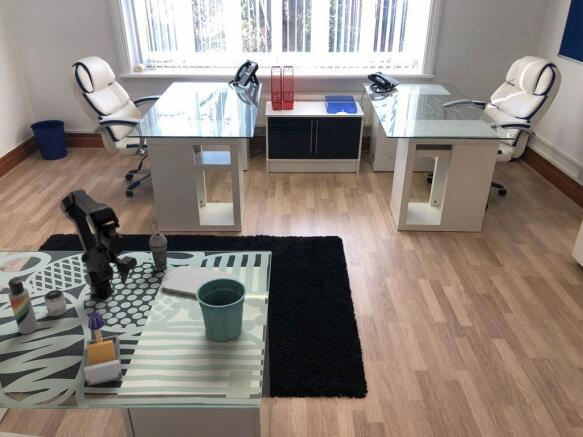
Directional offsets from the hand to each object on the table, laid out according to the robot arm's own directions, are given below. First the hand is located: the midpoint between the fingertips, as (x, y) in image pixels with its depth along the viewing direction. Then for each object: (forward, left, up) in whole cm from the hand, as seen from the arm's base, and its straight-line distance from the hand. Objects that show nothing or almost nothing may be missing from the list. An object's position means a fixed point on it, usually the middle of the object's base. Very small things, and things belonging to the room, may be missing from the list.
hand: (113, 280), depth 166 cm
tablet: (+19, +25, -14) cm, 34 cm away
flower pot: (+40, +4, -13) cm, 42 cm away
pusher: (+13, -24, -13) cm, 30 cm away
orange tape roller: (+12, -22, -13) cm, 29 cm away
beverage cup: (-2, +30, -13) cm, 33 cm away
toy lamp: (+12, -22, -12) cm, 28 cm away
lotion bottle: (-22, -19, -13) cm, 32 cm away
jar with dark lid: (-20, -8, -13) cm, 25 cm away
